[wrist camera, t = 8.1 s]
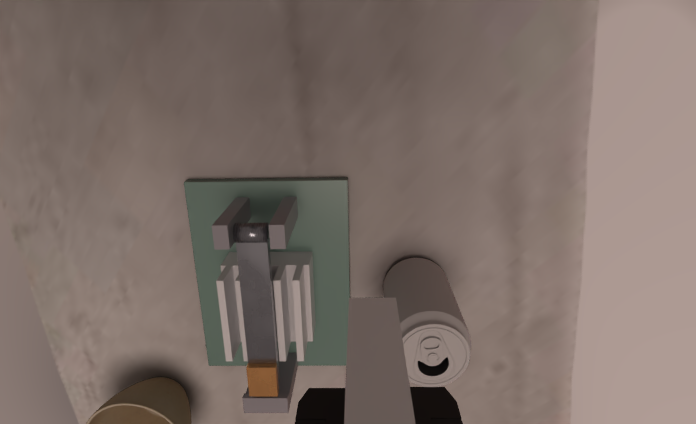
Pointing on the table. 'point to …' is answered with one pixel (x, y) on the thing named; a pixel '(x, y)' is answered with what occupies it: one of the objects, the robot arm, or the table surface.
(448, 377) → the beverage can
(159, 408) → the flower pot
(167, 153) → the table surface
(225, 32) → the table surface
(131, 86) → the table surface
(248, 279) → the grey long bar
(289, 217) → the board
